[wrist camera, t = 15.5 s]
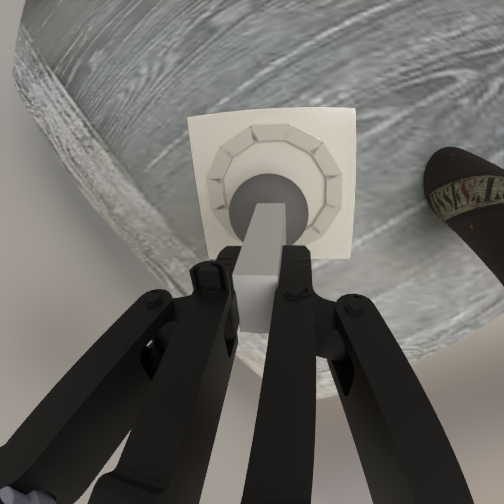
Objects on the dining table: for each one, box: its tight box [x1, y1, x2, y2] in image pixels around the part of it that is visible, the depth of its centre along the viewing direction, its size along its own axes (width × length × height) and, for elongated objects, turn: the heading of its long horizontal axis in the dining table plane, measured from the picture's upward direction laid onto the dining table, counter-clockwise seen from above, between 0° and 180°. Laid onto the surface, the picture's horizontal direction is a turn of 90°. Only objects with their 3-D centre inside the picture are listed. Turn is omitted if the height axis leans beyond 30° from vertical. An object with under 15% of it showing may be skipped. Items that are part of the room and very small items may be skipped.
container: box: [424, 147, 504, 286], centre depth 16 cm, size 9×9×20 cm
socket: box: [187, 107, 356, 259], centre depth 27 cm, size 16×16×2 cm
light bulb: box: [229, 173, 309, 245], centre depth 23 cm, size 6×6×10 cm
